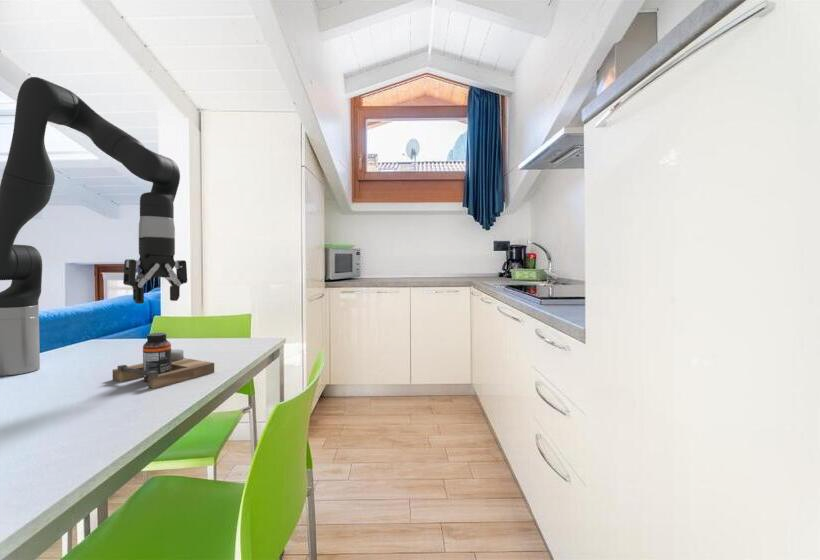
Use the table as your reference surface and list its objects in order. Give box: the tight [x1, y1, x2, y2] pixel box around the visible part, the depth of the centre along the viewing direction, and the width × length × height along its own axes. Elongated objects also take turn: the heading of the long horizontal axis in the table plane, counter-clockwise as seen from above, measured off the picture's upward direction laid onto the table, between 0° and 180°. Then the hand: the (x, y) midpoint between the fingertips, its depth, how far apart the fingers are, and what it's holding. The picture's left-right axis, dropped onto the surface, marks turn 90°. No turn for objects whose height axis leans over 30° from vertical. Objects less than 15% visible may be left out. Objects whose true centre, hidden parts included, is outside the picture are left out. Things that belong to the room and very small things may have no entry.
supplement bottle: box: [142, 332, 172, 382], centre depth 99 cm, size 6×6×11 cm
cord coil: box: [171, 348, 185, 362], centre depth 109 cm, size 5×5×2 cm
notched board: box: [111, 357, 215, 390], centre depth 102 cm, size 16×16×4 cm
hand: (157, 301), depth 98 cm, fingers open, 8 cm apart
